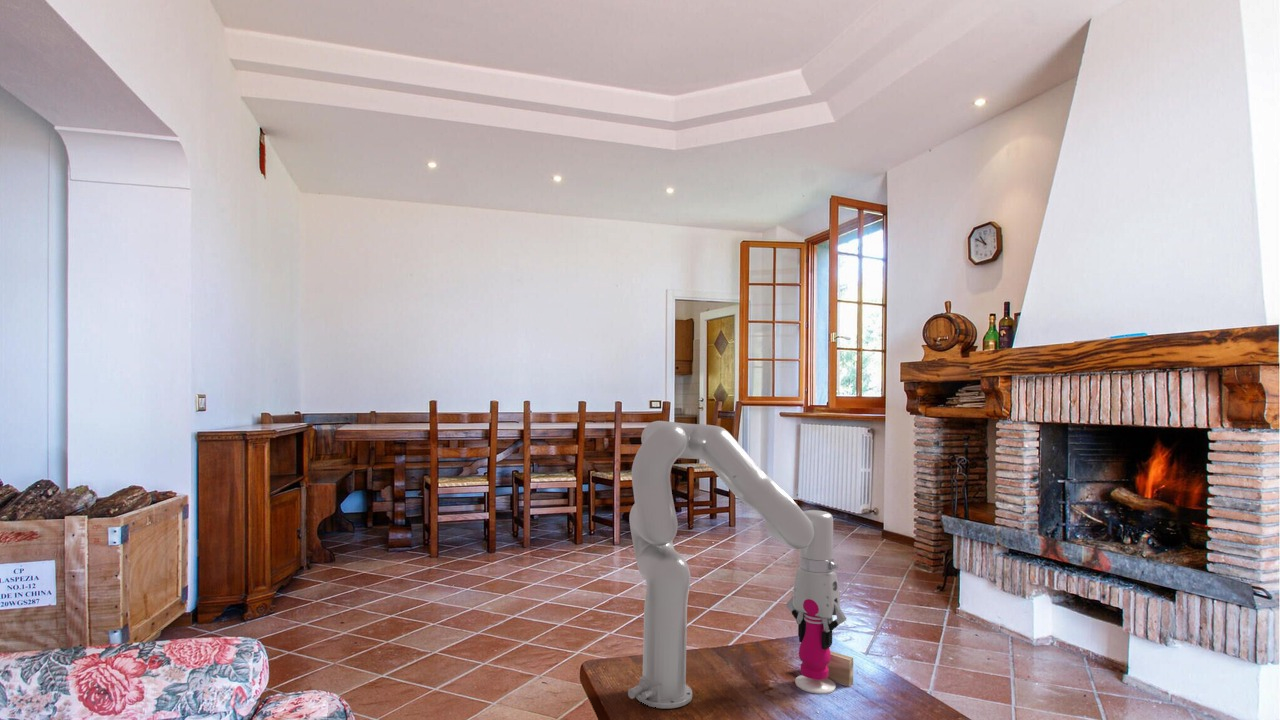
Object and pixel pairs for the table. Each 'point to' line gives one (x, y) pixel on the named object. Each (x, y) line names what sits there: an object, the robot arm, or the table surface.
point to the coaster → (815, 685)
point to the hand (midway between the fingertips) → (814, 643)
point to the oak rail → (840, 669)
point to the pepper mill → (813, 645)
